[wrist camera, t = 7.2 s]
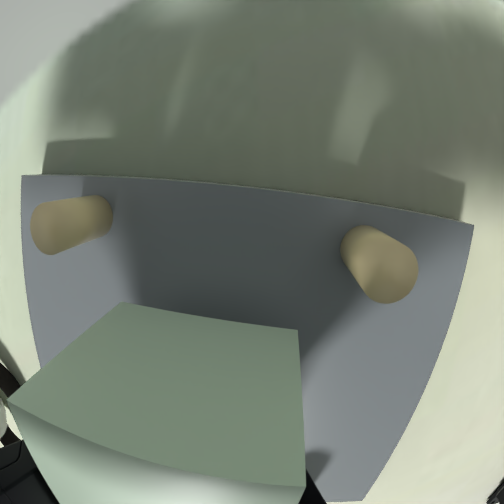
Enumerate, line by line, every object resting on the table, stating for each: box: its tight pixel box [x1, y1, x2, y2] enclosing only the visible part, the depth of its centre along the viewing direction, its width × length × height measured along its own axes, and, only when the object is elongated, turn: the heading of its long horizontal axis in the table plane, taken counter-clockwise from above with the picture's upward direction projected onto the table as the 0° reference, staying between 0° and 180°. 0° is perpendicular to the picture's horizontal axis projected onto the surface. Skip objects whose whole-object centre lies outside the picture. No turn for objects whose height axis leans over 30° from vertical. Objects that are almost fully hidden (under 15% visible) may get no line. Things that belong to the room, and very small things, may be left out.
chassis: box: [21, 174, 474, 502], centre depth 10 cm, size 16×14×4 cm
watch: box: [0, 363, 21, 447], centre depth 13 cm, size 8×5×4 cm, turn 8°
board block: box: [7, 302, 306, 504], centre depth 7 cm, size 5×7×5 cm
